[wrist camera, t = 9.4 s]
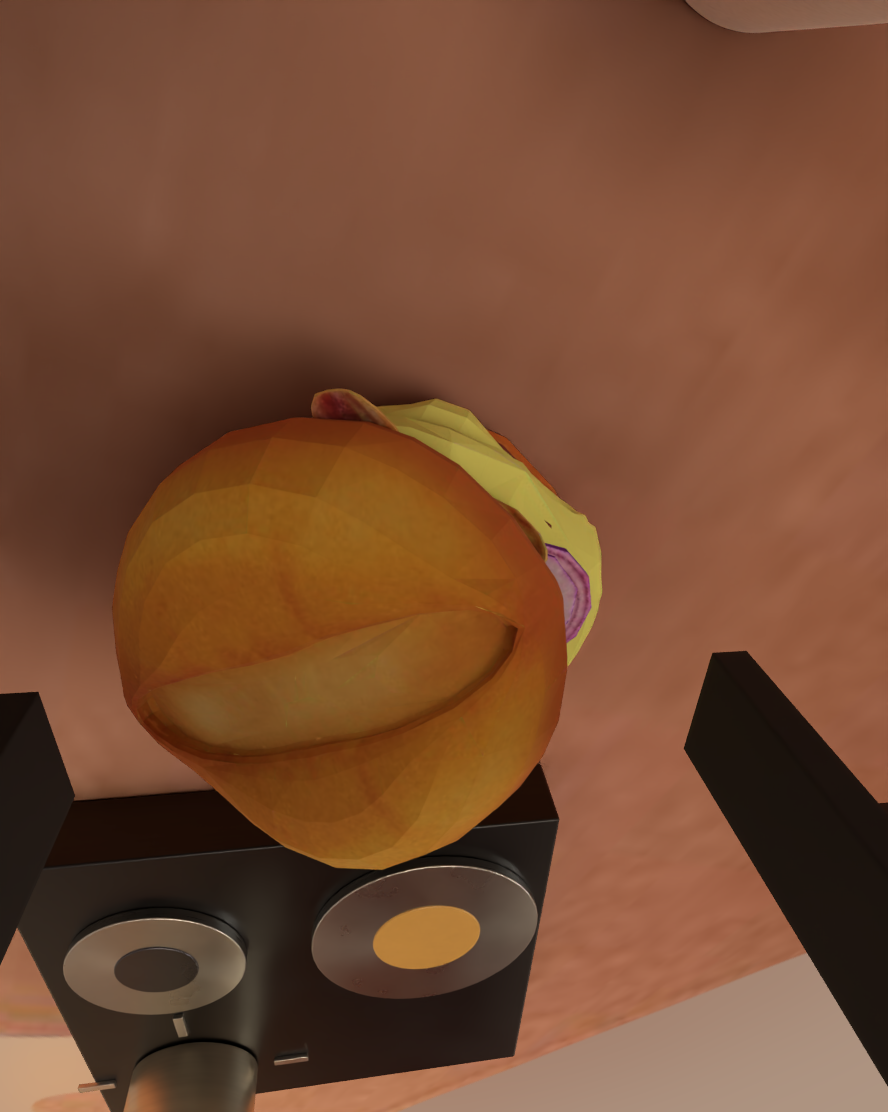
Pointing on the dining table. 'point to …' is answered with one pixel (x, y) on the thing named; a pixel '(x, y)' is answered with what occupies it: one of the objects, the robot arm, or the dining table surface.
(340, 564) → the cheeseburger
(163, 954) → the burners
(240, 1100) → the stove knob
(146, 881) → the stove
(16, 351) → the dining table surface
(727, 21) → the dixie cup
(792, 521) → the dining table surface
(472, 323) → the dining table surface
